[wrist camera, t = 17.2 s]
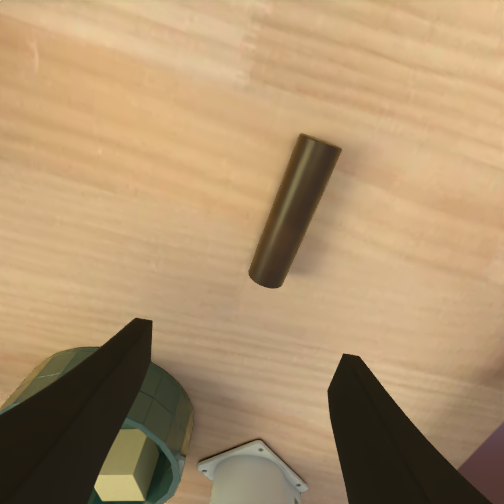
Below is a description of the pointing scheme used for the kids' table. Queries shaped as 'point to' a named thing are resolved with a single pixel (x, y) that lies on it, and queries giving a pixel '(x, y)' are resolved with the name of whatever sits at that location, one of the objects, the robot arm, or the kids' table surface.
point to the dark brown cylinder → (293, 209)
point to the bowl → (132, 418)
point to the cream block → (128, 467)
